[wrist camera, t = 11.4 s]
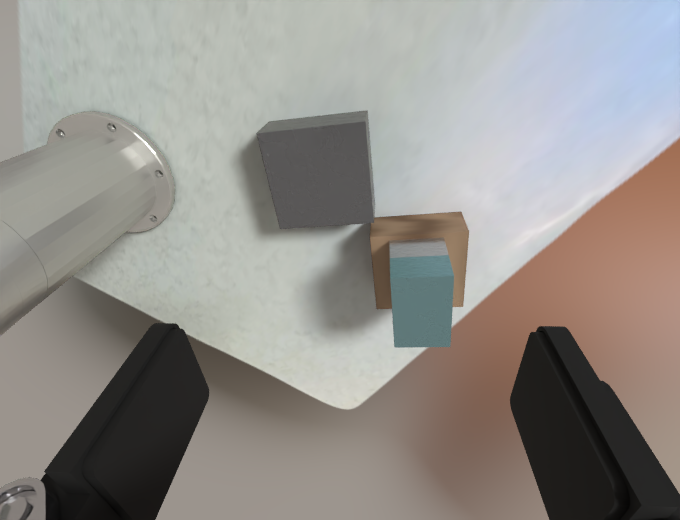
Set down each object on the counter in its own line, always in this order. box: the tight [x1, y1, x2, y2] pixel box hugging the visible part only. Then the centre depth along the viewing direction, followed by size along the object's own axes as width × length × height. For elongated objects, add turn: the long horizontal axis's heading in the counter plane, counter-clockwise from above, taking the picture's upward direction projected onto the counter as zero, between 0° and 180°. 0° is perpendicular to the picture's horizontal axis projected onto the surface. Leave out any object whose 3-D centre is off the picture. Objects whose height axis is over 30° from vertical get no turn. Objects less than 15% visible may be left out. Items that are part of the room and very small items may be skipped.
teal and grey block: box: [389, 237, 454, 347], centre depth 33 cm, size 8×5×6 cm, turn 7°
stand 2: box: [370, 212, 469, 309], centre depth 37 cm, size 9×9×4 cm
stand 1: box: [257, 111, 375, 229], centre depth 33 cm, size 9×9×4 cm
